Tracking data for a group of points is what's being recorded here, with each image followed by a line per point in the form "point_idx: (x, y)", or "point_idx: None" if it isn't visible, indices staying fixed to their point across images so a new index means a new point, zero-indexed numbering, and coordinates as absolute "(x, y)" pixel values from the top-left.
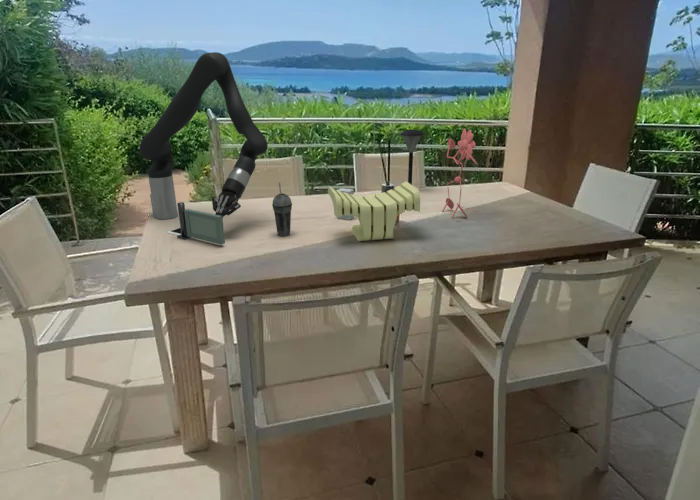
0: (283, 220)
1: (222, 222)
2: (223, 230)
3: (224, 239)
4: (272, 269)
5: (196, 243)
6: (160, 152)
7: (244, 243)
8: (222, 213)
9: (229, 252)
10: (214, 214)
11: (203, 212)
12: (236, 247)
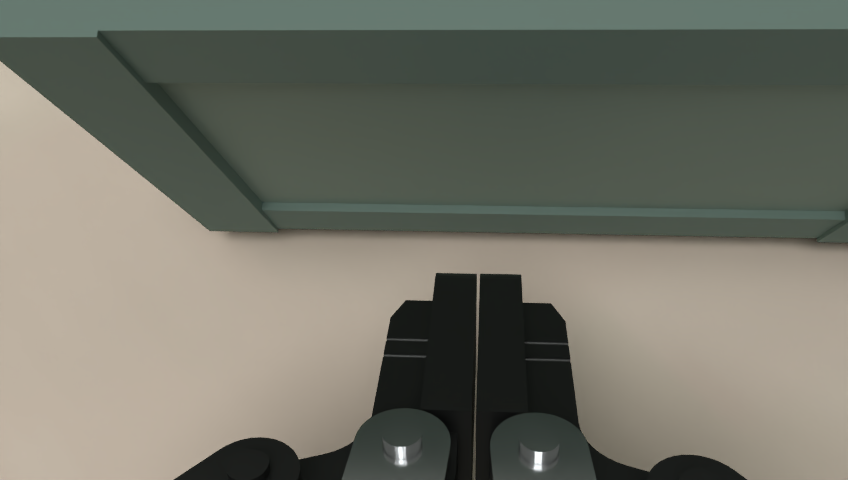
0: None
1: (60, 96)
2: (133, 162)
3: (191, 210)
4: None
5: None
6: None
7: (51, 439)
8: (348, 446)
9: (44, 110)
10: (222, 25)
11: (612, 12)
12: (63, 272)
